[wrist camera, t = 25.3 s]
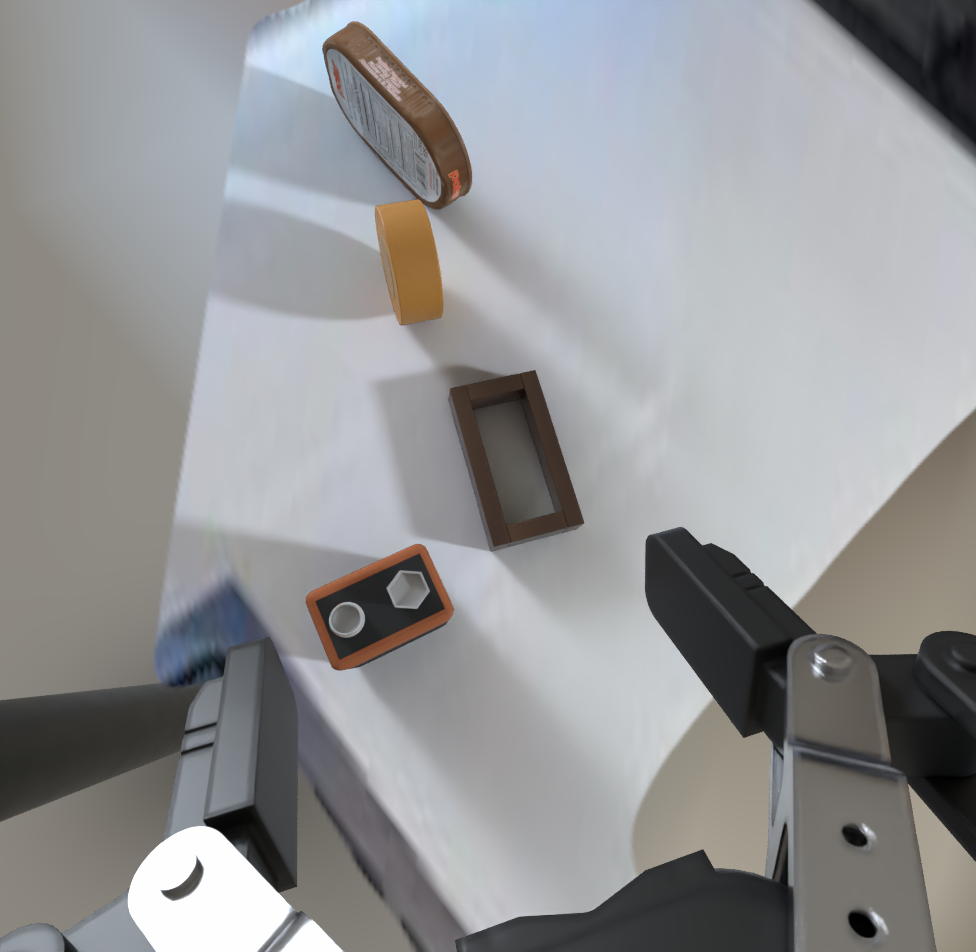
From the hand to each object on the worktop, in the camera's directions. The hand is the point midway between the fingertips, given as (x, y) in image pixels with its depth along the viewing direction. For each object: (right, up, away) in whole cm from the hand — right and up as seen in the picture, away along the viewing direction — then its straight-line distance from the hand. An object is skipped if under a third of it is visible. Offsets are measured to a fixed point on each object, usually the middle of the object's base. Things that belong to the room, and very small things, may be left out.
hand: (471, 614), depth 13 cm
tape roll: (-5, +15, +33) cm, 36 cm away
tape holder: (+2, +4, +31) cm, 32 cm away
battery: (-6, -6, +28) cm, 29 cm away
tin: (-7, +29, +38) cm, 48 cm away
